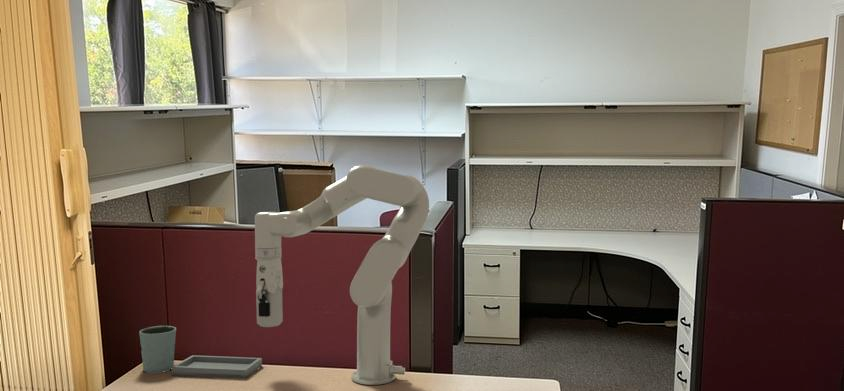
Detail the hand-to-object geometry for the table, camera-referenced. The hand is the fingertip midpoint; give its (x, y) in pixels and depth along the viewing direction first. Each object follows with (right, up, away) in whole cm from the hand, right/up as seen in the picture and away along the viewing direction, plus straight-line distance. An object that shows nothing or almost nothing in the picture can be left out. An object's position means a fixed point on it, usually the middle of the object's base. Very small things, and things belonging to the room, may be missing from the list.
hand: (269, 313), depth 183 cm
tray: (-16, -18, +2) cm, 24 cm away
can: (0, -4, 0) cm, 4 cm away
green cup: (-34, -18, +3) cm, 39 cm away
